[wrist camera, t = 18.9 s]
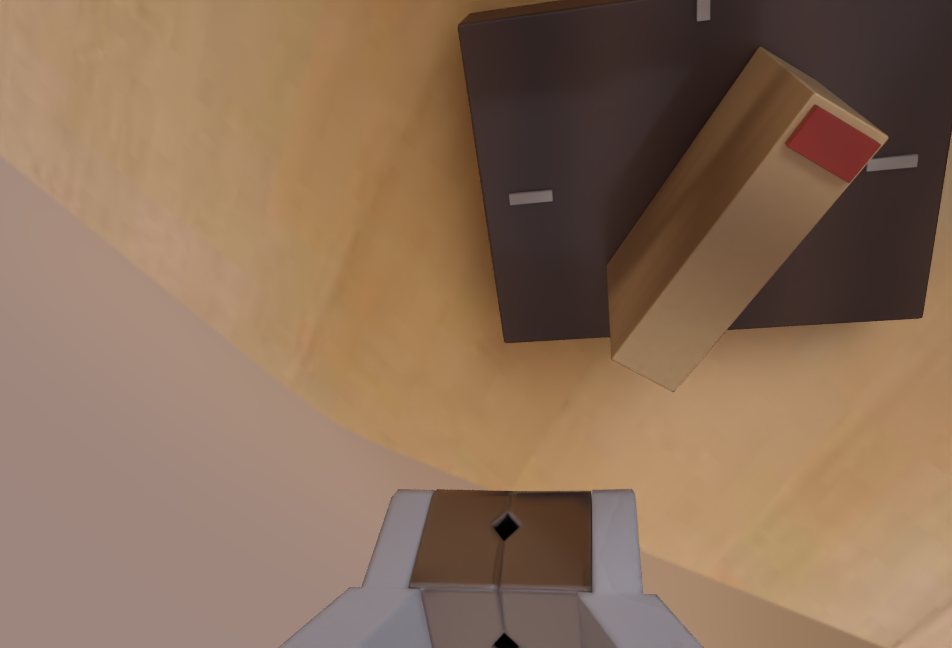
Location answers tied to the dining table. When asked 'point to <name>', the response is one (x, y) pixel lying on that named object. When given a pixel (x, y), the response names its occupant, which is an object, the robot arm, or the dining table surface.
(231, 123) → the dining table surface
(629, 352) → the wooden block
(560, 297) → the dark flat block
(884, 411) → the dining table surface
